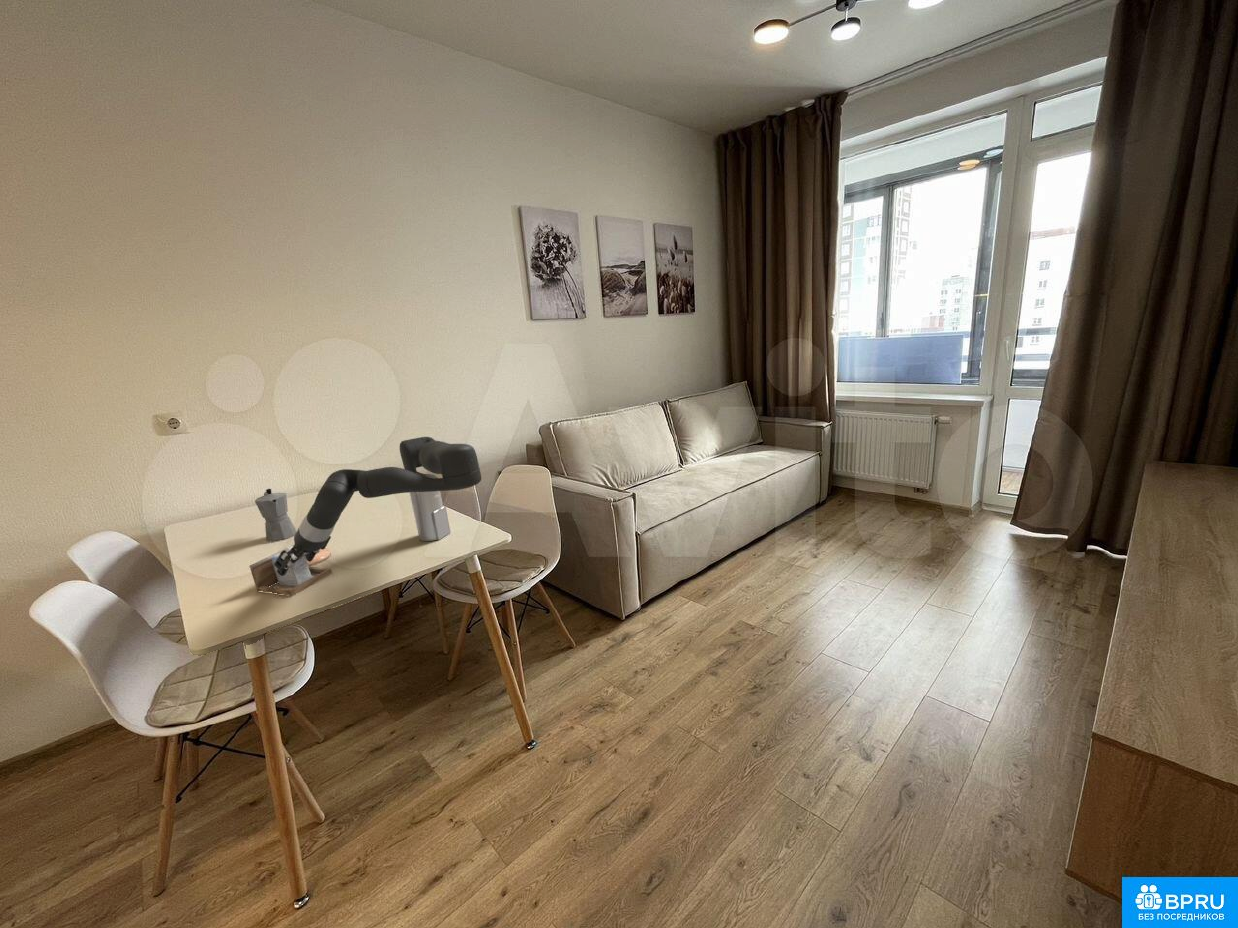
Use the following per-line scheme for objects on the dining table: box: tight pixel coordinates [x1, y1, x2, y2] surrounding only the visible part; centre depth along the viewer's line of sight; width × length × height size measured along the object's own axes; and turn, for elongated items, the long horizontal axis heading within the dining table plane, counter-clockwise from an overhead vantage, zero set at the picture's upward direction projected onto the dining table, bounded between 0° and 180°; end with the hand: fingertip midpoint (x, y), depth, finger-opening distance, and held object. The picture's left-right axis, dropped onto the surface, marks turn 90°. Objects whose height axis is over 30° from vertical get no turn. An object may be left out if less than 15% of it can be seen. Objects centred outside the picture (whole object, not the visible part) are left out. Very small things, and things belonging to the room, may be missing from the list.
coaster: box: [307, 547, 332, 567], centre depth 159 cm, size 12×12×1 cm
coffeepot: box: [254, 488, 297, 542], centre depth 179 cm, size 15×9×18 cm, turn 44°
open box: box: [248, 544, 333, 597], centre depth 143 cm, size 13×13×8 cm
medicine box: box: [271, 551, 313, 587], centre depth 143 cm, size 8×4×9 cm, turn 71°
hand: (294, 566), depth 141 cm, fingers open, 8 cm apart
